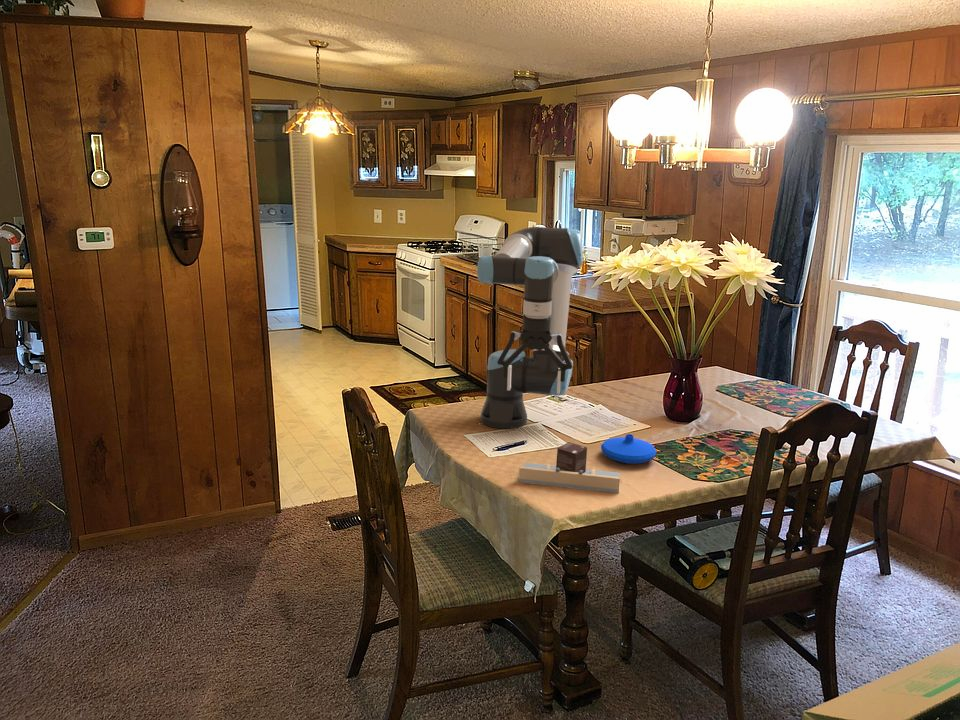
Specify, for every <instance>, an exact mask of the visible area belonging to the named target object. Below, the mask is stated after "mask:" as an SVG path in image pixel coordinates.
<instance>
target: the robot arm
mask: <svg viewBox="0 0 960 720" xmlns="http://www.w3.org/2000/svg"><path fill="white" fill-rule="evenodd" d="M583 256H584V255H583V240H582V233H581V231H580V230H579V229H575V228H568V227H565V228H564V227H560V228H559V227H546V226H545V227H543V226H542V227H541V226H531V227H525V228H522V229H519V230H517V231H514V232H512V233H511V234H509V235H508V236H507V237H506V239H504V241H503V244H502V247H501V248H500V249H499V250H498V251H497V252H496V253H495V254H494V255H493V256H492V255H481V256H480V257H479V258H478V260H477V267H476V277H477V280H478V281H479V282H480V283H484V284H489V285H492V284H494V285H515V286H523V288H524V289H523V291H524V292H523V304H522V305H523V306H522V307H523V308H522V313H523V316H522V327H521V328H522V330H521V332H517V331H516V330H512V331H511V332H510V335H509V340H508V341H507V343H506V345H505V347H504V349H502V350H497V351H494V352H492V353H491V354H490V355H489V356H488V359H487V367H486V370H487V373H486V374H487V376H486V377H487V378H486V397H485V400H484V403H483V406H482V408H481V411H480V419H479V420H480V422H481V423H482V424H483V425H484V426H487V427H491V428H495V429H496V428H497V429H516V428H521V427H523V426H525V425H526V424H527V423H528V413H527V410H526V407H525V404H524V400H523V397H524V395H523V394H524V393H526V394H536V395H537V394H539V395H546V396H547V395H548V396H563V395H565V394H566V393H567V390H568V388H569V385H570V381H571V377H572V374H573V366H574V361H573V360H572V359H571V358H570V353H569V352H568V351H567V349H566V341H567V331H568V329H567V328H568V319H569V309H570V299H571V290H572V279H573V275H575V274H576V273H577V272H578V267H581V266H583V264H584V263H583V262H584V261H583V259H584V258H583ZM519 338H520V340H521V341H522V343H521V344H520V345H519V347H517V348H512V349H511V347H512V346H513V344H514V341H518V339H519ZM526 349H529V350H531V351H532V354H531V356H529V355H528V356H527V355H526V353H525V350H526Z"/></svg>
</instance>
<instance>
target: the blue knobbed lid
mask: <svg viewBox="0 0 960 720" xmlns="http://www.w3.org/2000/svg"><path fill="white" fill-rule="evenodd" d="M600 450H601V453H602V454H603V455H604V456H606V457H607V458H608V459H611V460H613V461H616V462H619V463H622V464H623V463H624V464H630V465H631V464H633V465H636V464H637V465H638V464H642V463H647V462H649V461H651V460H653V459H655V456H656V455H657V449H656V448H655V446H654V445H653V444H651V442H648V441H645V440H642V439H639V438H635V437H634V435H633V434H631V433H630V434H629V433H627V434H625V436H623V437H622V436H619V437H611V438H608V439H606V440H605V441H603V442H602V443H601V445H600Z"/></svg>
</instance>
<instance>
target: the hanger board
mask: <svg viewBox="0 0 960 720" xmlns="http://www.w3.org/2000/svg"><path fill="white" fill-rule="evenodd" d="M518 471H519V472H518V483H524V484H525V483H526V484H532V485H534V484H535V485H540V486H541V485H542V486H548V487H549V486H552V487H560V488H569V489H576V490H577V489H578V490H586V491H597V492H605V493H613V494H619V492H620V482H621V480H620V479H621V477H620V476H621V473H620V472H616V471H615V472H614V471H605V470H597V468H591V469H587V468H586V472H584V473H583V471H582V470H579V473H578V472H569V471H560V468H556V465H552V464H550V463H547V464H539V463H531V462H530V463H528V462H525V463H524V464H523V466H522V465H521V466H519V470H518Z"/></svg>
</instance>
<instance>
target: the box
mask: <svg viewBox="0 0 960 720" xmlns="http://www.w3.org/2000/svg"><path fill="white" fill-rule="evenodd" d="M556 450H557V451H556V465H555V466H556V468H560V471H569V472H578V473H579V470H582V471H583V473H584V472H586V469H587V455H588V447H587V446H584V445H582V444H581V445H579V444H576V443H575V442H571V441H568V442H566V443H565V444H562V445H561V446H558V447H557V449H556Z"/></svg>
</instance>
